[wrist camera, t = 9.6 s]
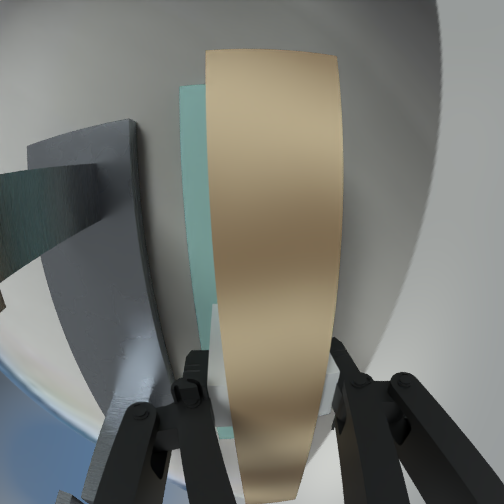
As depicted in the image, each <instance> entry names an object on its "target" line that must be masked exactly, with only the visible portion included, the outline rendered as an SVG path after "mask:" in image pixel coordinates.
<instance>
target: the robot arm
mask: <svg viewBox="0 0 504 504" xmlns="http://www.w3.org/2000/svg"><path fill="white" fill-rule="evenodd" d="M170 391H171V394H172V397H173V400H174V402H173V403H171V404H169V405H166V406H162V407H157V408H155V407H154V406H153V405H152V404H150V403H147V402H137V403H134V404H132V405H130V406H129V407H128V408H127V410H126V411H125V413H124V416H123V419H122V421H121V424H120V426H119V429H118V432H117V434H116V437H115V440H114V443H113V445H112V448H111V451H110V454H109V456H108V459H107V462H106V465H105V468H104V471H103V474H102V477H101V480H100V483H99V486H98V489H97V492H96V496H95V499H94V502H93V504H162V503H163V497H164V490H165V484H166V479H167V474H168V468H169V463H170V458H171V452H172V450H174V449H179V448H180V452H181V458H182V465H183V471H184V477H185V483H186V488H187V493H188V498H189V503H190V504H236V501H235V497H234V494H233V491H232V488H231V485H230V481H229V478H228V475H227V471H226V468H225V464H224V461H223V457H222V454H221V450H220V446H219V443H218V439H217V435H216V431H215V426H216V427H231V426H232V419H231V412H230V405H229V398H228V390H227V383H226V375H225V367H224V359H223V350H222V341H221V332H220V323H219V313H218V304H212V317H211V330H210V345H209V350H191V352H190V353H189V354H188V355H187V357H186V361H185V367H184V373H183V378H179V379H178V380H176V381H175V382H174V383H173V384H172V385H171V389H170ZM332 407H333V410H334V412H335V417H334V421H333V424H332V429H331V430H334V427H335V429H336V436H337V443H338V451H339V458H340V466H341V475H342V483H343V493H344V503H345V504H410V502H409V497H408V493H407V489H406V485H405V481H404V477H403V473H402V469H401V466H400V462H399V460H400V461H401V463H402V465H403V466H404V468H405V470H406V471H407V473H408V474H409V476H410V478H411V479H412V481H413V482H414V484H415V486H416V487H417V489H418V491H419V493H420V494H421V496H422V497H423V499H424V501H425V502H426V504H504V484H503V483H502V481H501V480H500V479H499V477H498V476H497V475H496V473H495V472H494V471H493V469H492V468H491V467H490V465H489V464H488V463H487V462H486V460H485V459H484V458H483V457H482V456H481V454H480V453H479V451H478V450H477V449H476V448H475V446H474V445H473V444H472V443H471V442H470V440H469V439H468V438H467V437H466V436H465V434H464V433H463V432H462V431H461V429H460V428H459V427H458V426H457V425H456V423H455V422H454V421H453V420H452V419H451V417H449V415H448V414H447V413H446V411H445V410H444V409H443V408H442V407H441V406H440V404H438V402H437V401H436V400H435V399H434V398H433V396H432V395H431V394H430V393H429V392H428V391H427V389H426V388H425V387H424V386H423V385H422V384H421V383H420V382H419V380H418V379H417V378H416V377H415V376H413V375H412V374H410V373H406V372H400V373H396V374H395V375H393V376H392V378H391V380H390V381H374V380H373V379H372V377H370V376H369V375H368V374H365V373H360V371H359V370H358V368H357V366H356V365H355V363H354V361H353V360H352V358H351V357H350V355H349V353H348V352H347V350H346V349H345V347H344V345H343V344H342V342H340V341H339V340H338V339H336V338H335V337H333V338H332V339H331V346H330V352H329V359H328V365H327V371H326V377H325V382H324V387H323V393H322V398H321V403H320V408H319V412H318V416H322V415H326V414H330V412H331V408H332Z"/></svg>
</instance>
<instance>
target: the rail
mask: <svg viewBox="0 0 504 504" xmlns="http://www.w3.org/2000/svg"><path fill="white" fill-rule="evenodd" d="M206 130H207V159H208V181H209V199H210V216H211V231H212V245H213V258H214V270H215V281H216V292H217V303H218V313H219V323H220V332H221V341H222V350H223V359H224V367H225V375H226V383H227V390H228V398H229V405H230V412H231V419H232V426H233V433H234V439H235V445H236V452H237V458H238V464H239V470H240V475H241V481H242V486H243V492H244V497H245V502H246V504H264V503H273V502H281V501H288V500H294V499H295V498H296V496H297V492H298V489H299V486H300V483H301V479H302V476H303V472H304V469H305V465H306V462H307V458H308V454H309V450H310V446H311V442H312V438H313V434H314V430H315V426H316V421H317V417H318V412H319V408H320V403H321V398H322V393H323V387H324V382H325V377H326V371H327V365H328V359H329V352H330V346H331V339H332V332H333V324H334V316H335V308H336V299H337V289H338V279H339V267H340V254H341V237H342V215H343V133H342V112H341V96H340V84H339V73H338V63H337V56H333V55H326V54H319V53H311V52H301V51H290V50H274V49H221V50H206Z"/></svg>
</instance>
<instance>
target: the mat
mask: <svg viewBox="0 0 504 504" xmlns="http://www.w3.org/2000/svg"><path fill="white" fill-rule="evenodd" d="M179 102H180V145H181V167H182V184H183V199H184V212H185V224H186V235H187V245H188V254H189V263H190V272H191V280H192V288H193V296H194V303H195V310H196V317H197V324H198V331H199V337H200V343H201V349H202V350H209V345H210V330H211V317H212V304H218V303H217V292H216V281H215V270H214V258H213V245H212V231H211V216H210V199H209V181H208V159H207V130H206V84H200V85H189V86H180V87H179ZM217 430H218V435H219V439H231V438H234V433H233V426H231V427H217Z"/></svg>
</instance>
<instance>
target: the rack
mask: <svg viewBox="0 0 504 504" xmlns="http://www.w3.org/2000/svg"><path fill="white" fill-rule="evenodd" d="M27 161H28V170H24V171H18V172H11V173H5V174H0V283H1V282H2V281H3V280H5V279H6V278H8V277H9V276H10V275H12V274H13V273H15V272H16V271H18V270H19V269H21V268H22V267H24V266H25V265H27V264H28V263H30V262H31V261H33V260H34V259H36V258H37V257H39V256H41V260H42V264H43V268H44V272H45V276H46V280H47V283H48V287H49V290H50V293H51V297H52V300H53V303H54V306H55V309H56V312H57V315H58V318H59V320H60V323H61V326H62V328H63V331H64V334H65V336H66V339H67V341H68V344H69V346H70V348H71V351H72V353H73V355H74V358H75V360H76V362H77V364H78V366H79V368H80V371H81V373H82V375H83V377H84V379H85V381H86V383H87V385H88V387H89V389H90V390H91V392H92V394H93V396H94V398H95V400H96V401H97V403H98V405H99V407H100V408H101V410H102V412H103V414H104V415H105V420H104V423H103V426H102V429H101V431H100V434H99V437H98V440H97V444H96V447H95V450H94V454H93V456H92V460H91V463H90V466H89V470H88V473H87V477H86V480H85V484H84V488H83V492H82V496H81V498H82V499H83V500H85V501H86V502H87V503H89V504H93V502H94V499H95V496H96V492H97V489H98V486H99V483H100V480H101V477H102V474H103V471H104V468H105V465H106V462H107V459H108V456H109V454H110V451H111V448H112V445H113V443H114V440H115V437H116V434H117V432H118V429H119V426H120V424H121V421H122V419H123V416H124V413H125V411H126V410H127V408H128V407H129V406H130V405H132V404H134V403H137V402H147V403H150V404H152V405H153V406H154V407H155V408H157V407H162V406H166V405H169V404H171V403H173V402H174V400H173V397H172V394H171V391H170V389H171V385H172V384H173V383H174V382H175V380H174V376H173V373H172V369H171V366H170V362H169V358H168V354H167V350H166V346H165V342H164V338H163V334H162V330H161V325H160V321H159V316H158V311H157V307H156V302H155V297H154V291H153V286H152V280H151V275H150V269H149V263H148V256H147V249H146V242H145V235H144V227H143V219H142V210H141V200H140V189H139V176H138V160H137V135H136V121H133V120H131V119H125V120H119V121H114V122H110V123H105V124H101V125H96V126H92V127H88V128H84V129H80V130H76V131H73V132H69V133H66V134H62V135H59V136H56V137H52V138H49V139H46V140H43V141H40V142H37V143H34V144H31V145H29V146H27ZM5 308H6V305H5V303H4V300H3V297H2V294H1V291H0V312H1V311H2V310H4V309H5ZM55 504H84V503H82V502H81V501H80V500H78V499H77V498H76V497H74V496H73V495H71V494H68V493H66V492H63V491H60V490H59V492H58V496H57V499H56V503H55Z"/></svg>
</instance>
